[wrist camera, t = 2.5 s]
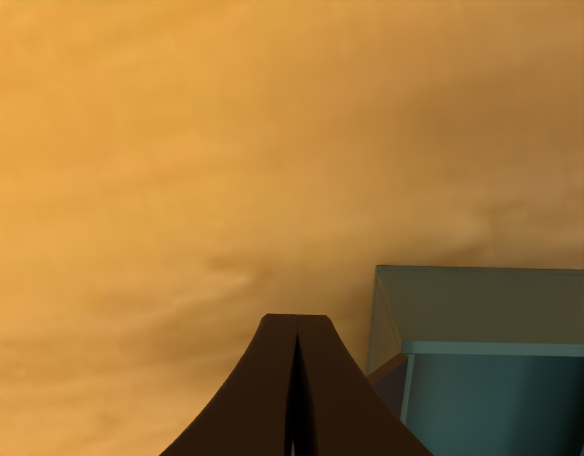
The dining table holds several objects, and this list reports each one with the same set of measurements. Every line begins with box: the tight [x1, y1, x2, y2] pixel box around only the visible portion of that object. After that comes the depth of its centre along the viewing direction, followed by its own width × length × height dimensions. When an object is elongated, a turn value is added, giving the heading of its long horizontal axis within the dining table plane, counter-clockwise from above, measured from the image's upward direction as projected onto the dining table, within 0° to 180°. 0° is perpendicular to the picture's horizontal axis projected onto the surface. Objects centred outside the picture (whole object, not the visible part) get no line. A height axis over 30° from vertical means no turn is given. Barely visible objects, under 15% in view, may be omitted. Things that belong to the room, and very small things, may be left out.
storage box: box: [365, 265, 584, 456], centre depth 21 cm, size 13×13×6 cm
